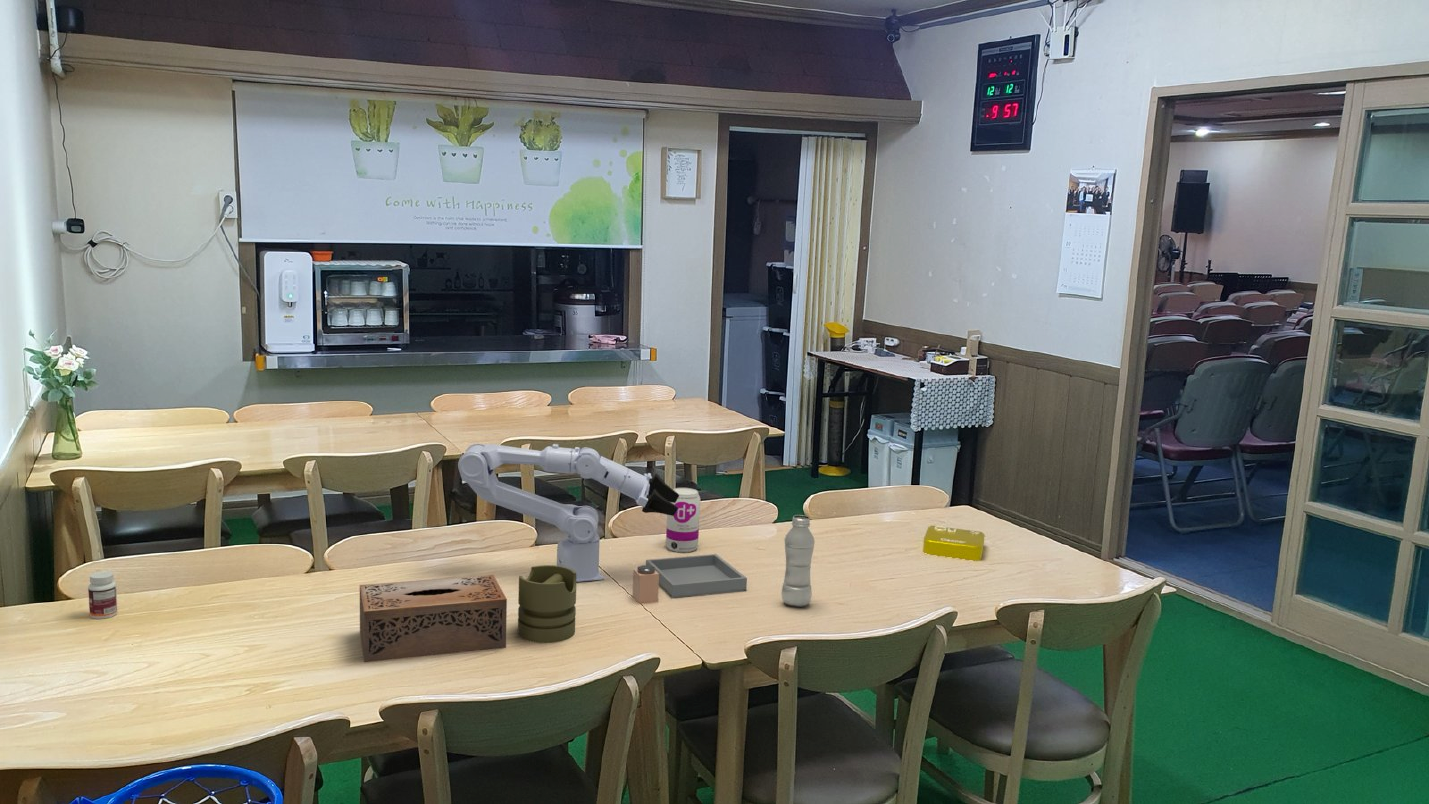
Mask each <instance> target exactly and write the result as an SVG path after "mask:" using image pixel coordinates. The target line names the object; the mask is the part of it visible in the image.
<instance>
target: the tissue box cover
mask: <svg viewBox="0 0 1429 804" xmlns="http://www.w3.org/2000/svg"><path fill="white" fill-rule="evenodd" d="M507 601H508V599H507V597H506V595H505V593H504V591H503V590H502V587H501V586H500V583H498V581H497V578H496V577H495V575H494V574H486V575H474V576H472V575H471V576H459V577H447V578H446V577H445V578H435V579H434V578H433V579H423V580H422V579H421V580H419V579H418V580H409V581H408V580H407V581H406V580H405V581H396V582H395V581H394V582H383V583H381V582H380V583H369V584H360V585H359V635H360V642H361V649H362V655H363V660H364V661H363V662H364V663H373V662H380V661H390V660H392V661H393V660H402V659H410V658H419V657H420V658H421V657H431V656H439V655H447V654H449V655H450V654H459V653H468V652H469V653H470V652H479V651H480V652H481V651H488V650H489V651H490V650H496V649H506V648H507V616H508V615H507V614H508V613H507V612H508V611H507V610H508V609H507V606H508V605H507V604H508V602H507Z"/></svg>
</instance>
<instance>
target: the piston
mask: <svg viewBox="0 0 1429 804" xmlns="http://www.w3.org/2000/svg"><path fill="white" fill-rule="evenodd" d="M517 603H518V609H517V616H518V617H517V634H518V636H519V638H521V639H523V640H525V641H527V642H530V643H531V642H532V643H538V644H554V643H560V642H564V641H566V640H569V639H571V638H572V637H574V635H575V633H576V614H577V613H576V612H577V611H576V610H577V608H576V603H577V582H576V572H575V571H574V570H572V569H570V568H567V567H562V566H557V565H556V564H555V565H552V564H547V565H545V564H543V565H536V566H531V570H530V573H529V575H528V576H527V577H526V578H525V577H523V575H518V602H517Z"/></svg>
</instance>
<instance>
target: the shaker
mask: <svg viewBox="0 0 1429 804" xmlns="http://www.w3.org/2000/svg"><path fill="white" fill-rule="evenodd" d="M659 587H660V586H659V573H658V572H657V571H655V567H653V566H649V565H646V564H645V565H643V564H642V565H639V566H638V567H637V568H633V572H632V596H631V597H632V599H634V600H635V601H636V602H637V604H642V605H643V604H650V603H658V602H659Z"/></svg>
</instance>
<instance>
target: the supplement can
mask: <svg viewBox="0 0 1429 804" xmlns="http://www.w3.org/2000/svg"><path fill="white" fill-rule="evenodd" d="M672 489H673V490H674V491H675V492H677V493H678V494H679V497H678V499H677V501H676V502H675V503H673V502H671V503H673V504H674V505H675V506H677V507H678V510H677V511H676V513H675V515H674V516H671V515H666V533H665V534H666V536H665V547H667V549H668V550H669V551H671V552H675V553H683V552H684V553H690V552H694V551H695V550H696V549H697V548H698V547H699V533H700V531H699V530H700V518H701V517H700V514H701V513H700V512H701V496H700V494H699V490H697V489H694V488H689V487H676V488H672Z"/></svg>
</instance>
